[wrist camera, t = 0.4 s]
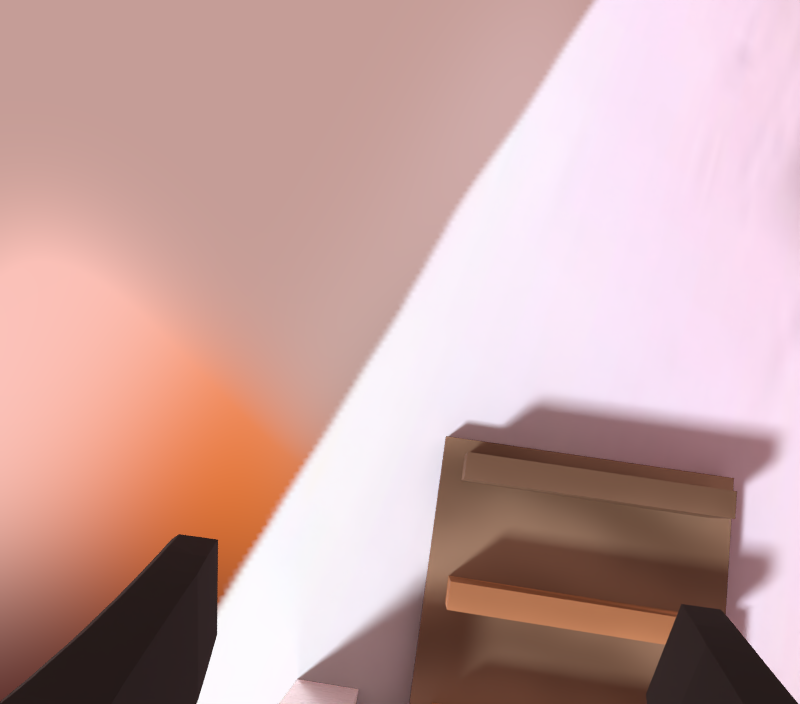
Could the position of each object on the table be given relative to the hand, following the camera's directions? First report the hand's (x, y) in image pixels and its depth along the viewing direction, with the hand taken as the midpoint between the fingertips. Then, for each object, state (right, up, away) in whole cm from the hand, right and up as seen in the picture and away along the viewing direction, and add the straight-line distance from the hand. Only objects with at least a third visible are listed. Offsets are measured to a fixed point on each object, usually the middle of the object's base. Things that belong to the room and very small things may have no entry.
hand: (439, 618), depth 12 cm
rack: (+7, -11, +24) cm, 28 cm away
